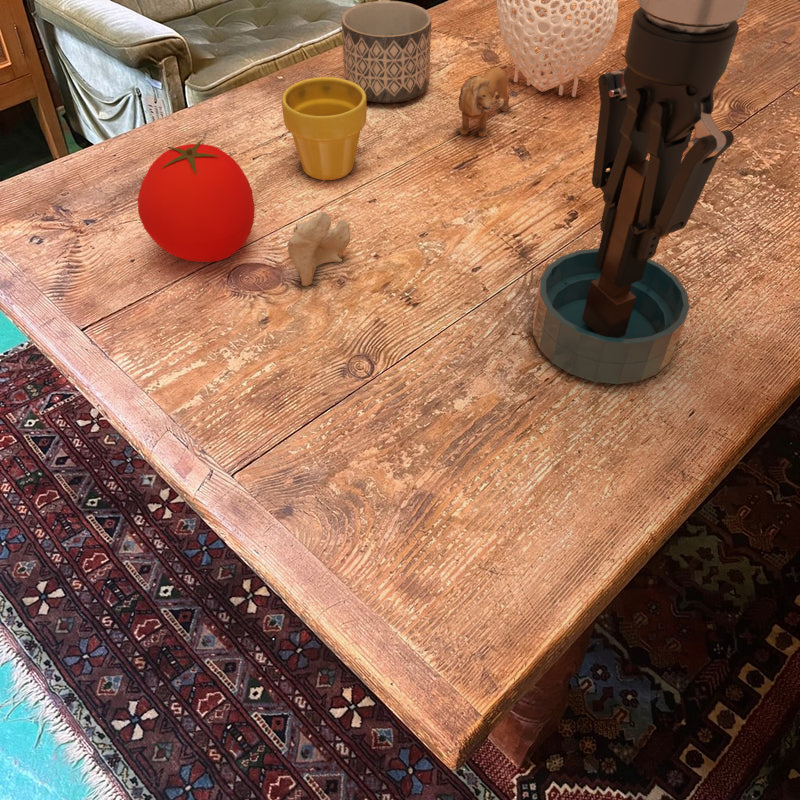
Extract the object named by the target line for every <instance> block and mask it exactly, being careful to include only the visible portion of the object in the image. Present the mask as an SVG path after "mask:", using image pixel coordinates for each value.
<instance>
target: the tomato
mask: <svg viewBox="0 0 800 800" xmlns="http://www.w3.org/2000/svg"><path fill="white" fill-rule="evenodd" d="M202 142H203V139H201V140H200V141H199V142H197V143H188V144H183V145H179V146H175V147H172V146H166V148H168V149H167V150H166V151H163V152H162V154H160V155H159V156H158V157H157V158H156V159H155V160H154V161H153V162H152V163H151V165H150V166H149V168H148V170H147V172H146V174H145V176H144V178H143V180H142V182H141V184H140V188H139V191H138V196H137V213H138V216H139V219H140V222H141V224H142V226H143V228H144V231H145V232H146V233H147V234H148V235H149V236H150V239H152V240H153V241H154V242H155V243H156V245H158V246H159V247H160V248H161V249H162V250H164V251H165V252H167V253H169V254H170V255H172V256H174V257H176V258H179V259H182V260H185V261H188V262H199V263H200V262H201V263H214V262H219V261H223V260H225V259H227V258H229V257H231V256H232V255H234V254H235V253H236V252H237V251H239V250H240V249H241V248H242V247H243V246H244V245H245V244H246V242H247V240H248V238H249V236H250V235H251V232H252V230H253V225H254V221H255V209H256V206H255V200H254V195H253V190H252V187H251V185H250V184H251V183H250V182H249V179H248V177H247V176H246V174H245V172H244V171H243V169H242V168H241V166H240V165H239V163H237V161H236V160H235V159H234V158H233V157H232V156H231V155H230V154H228V153H226V152H225V151H223V150H222V149H220V148H218V147H217V146H214V145H211V144H206V143H205V144H204V143H203V144H202Z"/></svg>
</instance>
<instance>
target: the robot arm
mask: <svg viewBox="0 0 800 800" xmlns="http://www.w3.org/2000/svg"><path fill="white" fill-rule="evenodd" d="M796 1H798V2H800V0H796ZM637 3H638V5H639V8H638V9H636V10H635V11H634V13H633V15H632V20H631V23H630V29H629V33H628V36H627V37H628V38H627V42H626V46H625V51H624V60H625V64H626V66H625V68H621V69H618V70H614V71H613V70H612V71H610V72H605V73H602V74H600V75H599V76H598V80H597V81H598V92H599V102H600V105H599V113H598V122H597V123H598V124H597V131H596V139H595V140H596V141H595V149H594V156H593V157H594V158H593V166H592V167H593V168H592V175H591V183H592V186H593V188H594V189H596V190H598V189H600V190H601V192H602V194H603V195H602V199H603V202H604V207H603V211H602V215H601V220H600V225H599V226H600V231H601V232H602V234H601V239H600V243H599V247H598V248H599V251H598V255H597V259H596V263H595V267H596V268H597V269H598V270H599V271H601V270H602V267H603V263H604V259H605V255H606V251H607V247H608V243H609V239H610V235H611V231H612V227H613V223H614V219H615V215H616V210H617V206H618V202H619V198H620V194H621V190H622V186H623V182H624V178H625V174H626V170H627V166H628V165H631V164H634V163H637V162H641V161H644V160H647V157H648V155H649V158H648V160H649V163H648V169H647V174H646V180H645V186H644V191H643V197H642V203H641V208H640V214H639V220H638V222H637V223H634V224H630V225H629V229H628V233H627V237H626V240H625V244H624V248H623V252H622V255H621V259H620V263H619V267H618V271H617V274H616V278H615V282H614V284H615V285H616V286H618V287H619V288H620V287H623V286H626V285H628V284H631V283H634V282H636V281H639V280H642V277H643V274H644V270H645V267H646V264H647V260H648V259H650V260H651V259H653V258H654V256H655V255H656V253H657V249H658V246H659V243H660V240H661V237H663V236H667V235H669V234H672V233H675V232H677V231H680V230H683V229H685V228H686V227H687V224H688V222H689V220H690V217H691V215H692V214H693V212H694V209H695V207H696V205H697V203H698V201H699V200H700V199H699V198H700V197H701V195H702V193H703V190H704V188H705V187H706V184H707V182H708V180H709V177H710V176H711V173H712V171H713V169H714V167H715V165H716V163H717V162H718V159H719V157H720V156H722V154H724V152H725V151H726V150H727V149H729V148H730V147H731V146H732V145H733V143H734V140H735V138H734V133H733V132H732V131H731V130H730V129H724V130H722V131H721V130H720V128H719V127H718V124H717V123H716V122H715V120H714V118H713V116H712V114H713V111H714V108H715V107H714V106H715V105H714V90H715V87H716V85H717V84H718V82H719V81H720V80H721V78H722V76H724V74H725V72H726V70H727V67H728V64H729V62H730V58H731V55H732V52H733V48H734V46H735V42H736V39H737V36H738V32H739V29H740V26H739V23H738V21H737V20H739V19H740V18H742V17H743V16H744V14H745V13H746V11H747V6H748V4H749V0H637ZM693 131H694V134H693V137H692V133H693ZM691 137H692V138H691ZM687 149H688V151H687V152H686V153H685V151H686V150H687ZM684 153H685V155H684ZM607 169H609V170H608V171H607Z"/></svg>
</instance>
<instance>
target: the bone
mask: <svg viewBox="0 0 800 800" xmlns="http://www.w3.org/2000/svg"><path fill="white" fill-rule="evenodd" d="M331 225H332V218H331V217H330V215H329V214H328V213H327V212H325V211H320V212H318V213H317V214H316V215H315V216H312V217H310V219H308V220H307V221H306V222H304V221H302V222H298V223H297V222H296V224H295V227H293V234H292V236H291V237H290V238H289V240H288V241H287V252H288V255H289V258H290V260H291V261H292V263H293V265H294V266H295V267H296V269H297V273H298V274H299V277H300V280H301V286H302V287H309V286H311V285H312V284H313V280H314V276H315V274H316V270H317V267H319V266H321V265H323V264H327V263H333V262H334V263H340V262H342V261H343V259H342V258H341V257H340V256H339V254H340V253H342V252H343V251H345V250H346V249H347V247H348V246H349V244H350V241H351V230H350V224H349V223H348V222H347V221H346V220H345V219H340V220H339V221H338V222H337V224H336V226H335V228H333V229H331Z"/></svg>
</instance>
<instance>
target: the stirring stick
mask: <svg viewBox="0 0 800 800" xmlns="http://www.w3.org/2000/svg"><path fill="white" fill-rule="evenodd" d="M648 163H649V159H646V160H644V161H641V162H637V163H634V164H631V165H628V166H627V170H626V174H625V178H624V182H623V186H622V190H621V194H620V198H619V202H618V206H617V210H616V215H615V219H614V223H613V227H612V231H611V235H610V239H609V243H608V247H607V251H606V255H605V259H604V263H603V267H602V271H601V275H600V278H599V279H596V280H594V281H591V284H590V288H589V292H588V296H587V300H586V305H585V309H584V313H583V317H582V320H583V321H584V322H585V323H586V324H587V325H588V326H589V327H590V328H591V329H592V330H593V331H594V332H595V333H596V334H599V335H602V336H605V337H613V338H620V337H623V336H625V334H626V330H627V327H628V324H629V320H630V317H631V314H632V310H633V307H634V304H635V300H636V296H635V295H633V294H632V293H631V292H630V288H631V285H632V283H631V284H628V285H626V286H623V287H620V288H619V287H618V286H616V285H615V284H614V282H615V278H616V274H617V271H618V267H619V263H620V259H621V255H622V252H623V248H624V244H625V240H626V237H627V233H628V229H629V225H630V224H634V223H637V222H638V220H639V214H640V208H641V203H642V197H643V191H644V186H645V180H646V174H647V169H648Z"/></svg>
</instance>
